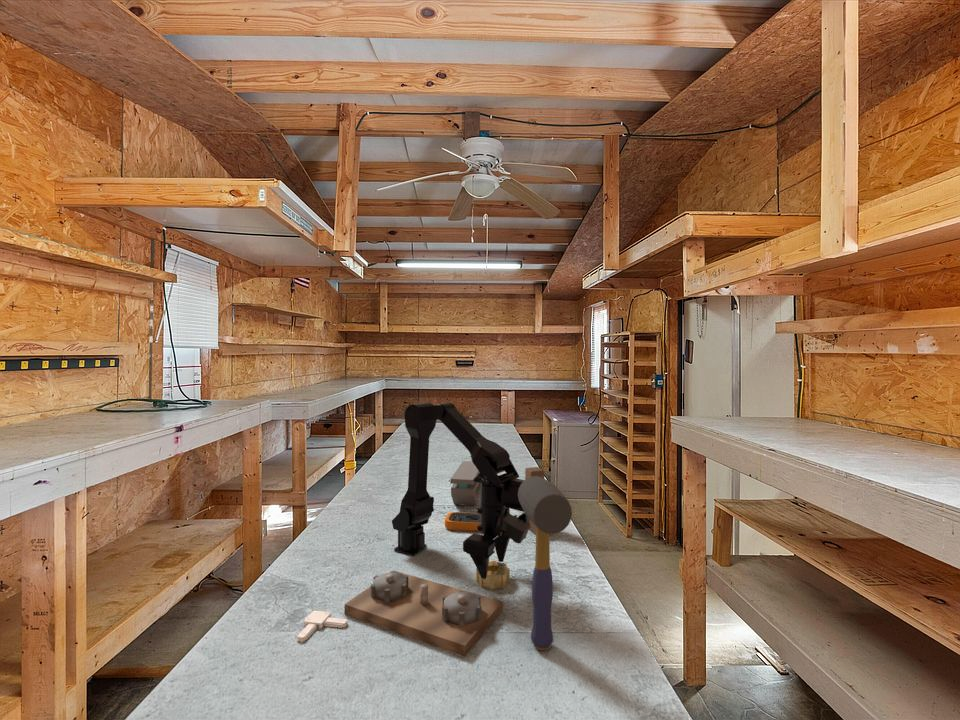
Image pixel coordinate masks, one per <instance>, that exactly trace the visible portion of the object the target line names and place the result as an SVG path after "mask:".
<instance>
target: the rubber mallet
mask: <svg viewBox="0 0 960 720" xmlns="http://www.w3.org/2000/svg"><path fill="white" fill-rule="evenodd" d="M523 480H524V481H523V482H522V483H521V485H520V487H519V490H518V500H519V502H520V504H521V506H522V508H523V510H524V512H523V513H525V514H526V515H527V517H528V518H529V519H530V520H531V521H532V522H533V523H534V524H535V525H536V535H535V555H534V557H535V558H534V559H535V566H534V569H533V573H532V582H531V599H532V608H533V609H532V610H533V611H532V613H533V614H532V629H531V633H530V639H531V641H532V644H533V647H534V649H537V650H539V651H547V650H549V649H550V647H551V645H552V643H553V641H554V633H553V630H552V629H553V628H552V605H553V597H554V584H553V583H554V581H553V573H552V569H551V566H550V556H551V555H550V551H551V549H550V546H551V544H550V543H551V542H550V538H551V537H550V536H551V535H555V534H559V533H561V532H562V531H564V530H566V528H567V527H568V526H569V524H570V523H571V520H572V516H573V512H572V511H573V509H572V506H571V504H570V502H569V500H568V498H567V497H566V496H565V495H564V493H563V492H561V490H560V489H559V488H558V487H557V486H556V485H554V483H552V482H550V481H549V480H548V479H547V478H545V477H544V478H542V477H538V476H533V477H529V478H527V479H526V480H525V479H523ZM550 534H551V535H550Z"/></svg>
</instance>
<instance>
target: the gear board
mask: <svg viewBox="0 0 960 720" xmlns="http://www.w3.org/2000/svg"><path fill="white" fill-rule="evenodd" d="M503 602H504V601H503V600H499V599H496V598H492V597H489V596H485V595H483V594H478V593H474V592H471V591H467V590H464V589H460V588H458V587H453V586H450V585H446V584H443V583H439V582H436V581H433V580H428V579H425V578H421V577H418V576H414V575H410V574H408V573H404V572H400V571H397V570H391V571H390V572H385V573H381V574H378V575H373V581H372V583H371V584H370V586H368V587H367V588H366V589H365V590H363V591H362V592H360V593H359V594H357V595H356V596H354V597H353V598H351V599H350V600H349V601H347V602H346V603H344V615H347V616H349V617H352V618H354V619H358V620H360V619H361V620H360V621H363V622H366V623H370V624H371V623H372V624H371V625H374V624H375V626H378V627H380V628H383V629H385V628H386V630H388V629H389V631H391V632H394V633H397V634H399V635H403V636H405V637H408V638H410V637H411V639H414V640H416V641H419V642H421V643H425V644H428V645H430V646H433V647H436V648H439V649H442V650H443V651H447V652H449V653H453V654H455V655H458V656H460V657H463V658H465V657H467V655H468V654H469V653H470V651H471V650H472V649H473V648H474V647H475V645H476V644H477V643H478V641H479V640H480V639H481V638H482V637H483V635H484V634H485V633H486V632H487V631H488V629H490V627H491V626H492V624H493V623H494V622H495V621H496V620H497V618H498V617H499V616H500V615H501V613H502V612H503V611H504V610H503V609H504V608H503Z"/></svg>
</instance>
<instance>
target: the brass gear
mask: <svg viewBox="0 0 960 720" xmlns="http://www.w3.org/2000/svg"><path fill="white" fill-rule="evenodd" d="M475 572H476V575H475V576H476V578H475V581H476V582H477V583H478V586H479V587H480V588H486V589H489V590H493V591H495V590H496V589H504V588H506V587H507V585H508V584H510V577H511V576H510V567H508V566H507V563H505V562H500V561H497V560H491V561H489V564H488V572H487V577H486V579H483V578H481V576H480V574H479V572H478V570H477V568H476V570H475Z"/></svg>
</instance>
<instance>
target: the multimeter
mask: <svg viewBox="0 0 960 720" xmlns="http://www.w3.org/2000/svg"><path fill="white" fill-rule="evenodd" d="M480 524H481V513H478V512H466V511H465V512H463V511H462V512H461V511H450V512H449V513H447V514H446V516H445V518H444V527H445V529H446V528H447V529H446V530H448V529H449V530H448V531H455V530H464V532H478V531H477V526H478V525H480Z"/></svg>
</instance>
